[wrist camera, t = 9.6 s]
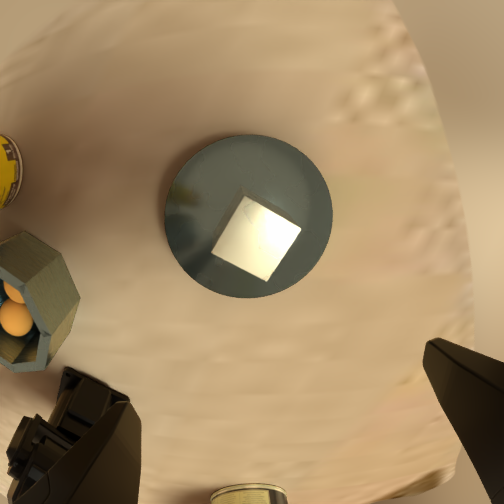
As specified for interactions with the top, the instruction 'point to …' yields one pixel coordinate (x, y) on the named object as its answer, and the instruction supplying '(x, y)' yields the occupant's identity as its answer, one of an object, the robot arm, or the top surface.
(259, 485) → the coffee can
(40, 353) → the tin
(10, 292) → the orange ball
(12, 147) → the supplement bottle
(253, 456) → the top surface
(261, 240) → the tin lid
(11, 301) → the orange ball one
